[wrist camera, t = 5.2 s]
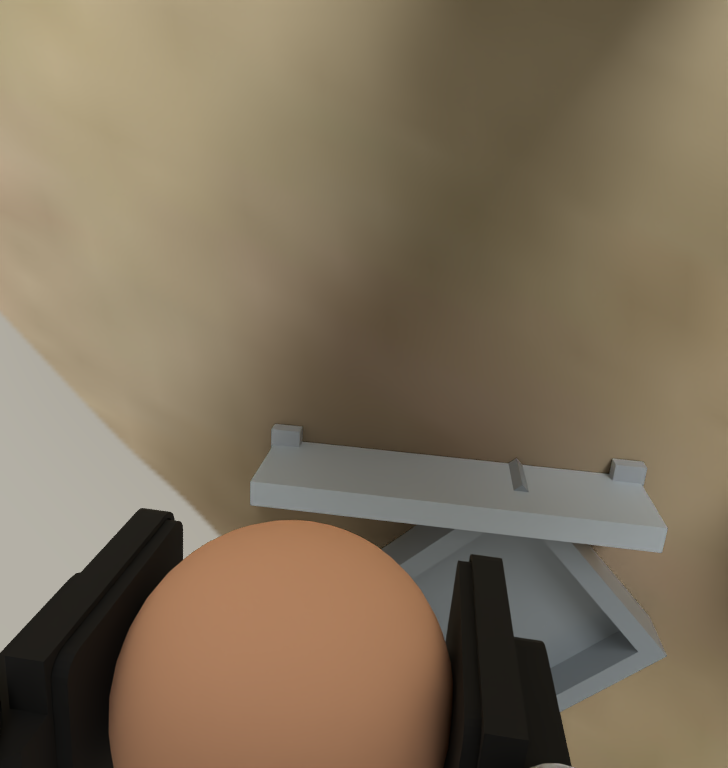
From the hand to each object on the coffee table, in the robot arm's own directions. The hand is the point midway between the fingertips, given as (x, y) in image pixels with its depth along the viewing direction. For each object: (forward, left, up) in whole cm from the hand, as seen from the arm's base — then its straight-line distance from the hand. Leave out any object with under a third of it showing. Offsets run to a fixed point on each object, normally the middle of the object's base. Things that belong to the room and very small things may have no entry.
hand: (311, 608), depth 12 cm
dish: (+10, +5, -16) cm, 20 cm away
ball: (0, 0, +2) cm, 2 cm away
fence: (+4, +3, -16) cm, 17 cm away
